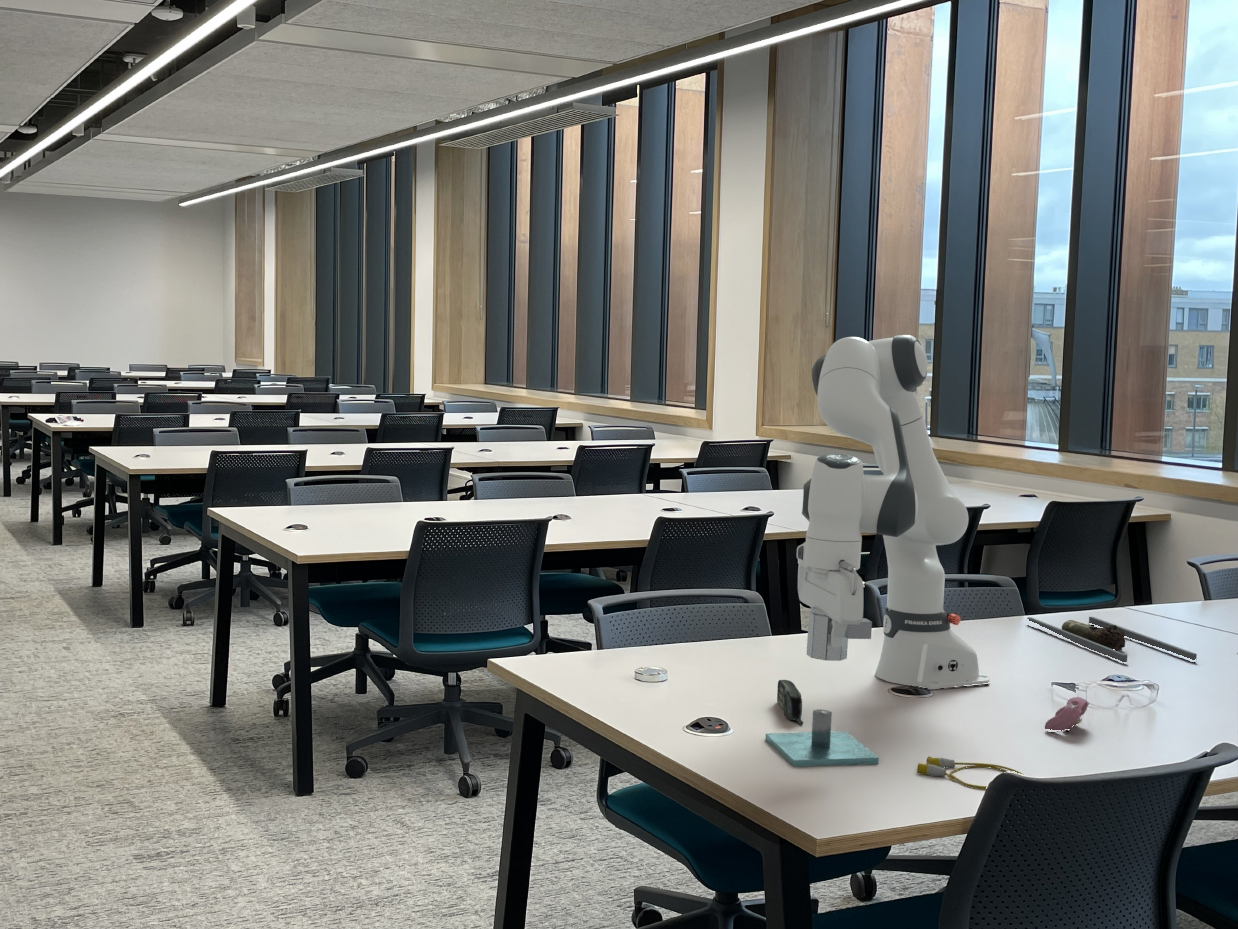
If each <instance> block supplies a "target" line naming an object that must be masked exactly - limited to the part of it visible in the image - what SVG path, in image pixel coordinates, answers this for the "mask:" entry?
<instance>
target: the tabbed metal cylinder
mask: <svg viewBox="0 0 1238 929" xmlns="http://www.w3.org/2000/svg"><path fill="white" fill-rule="evenodd" d="M807 626H808V627H807V642H806V643H807V644H806V656H808V657H810V658H811V659H816V660H820V661H821V660H822V661H826V662H828V661H829V662H830V661H832V662H833V661H834V662H835V661H836V662H840V661H844V660H847V659H848V644H849V640H871V639H872V632H873V631H872V628H873V621H871V620H870V619H868V618H865V617H863V618H862V621H861V623H860V624H858V625H847V629H846V631H845V634H844V636H843V644H842V646H841V647H833V646H831V645H830V644H829V634H831V632H832V628H833V625H832V619H831V618H829V617H828V616H826V615H824V612H822V611H820V610H818V609H817V608H815V607H810V610H809V612H808V624H807Z"/></svg>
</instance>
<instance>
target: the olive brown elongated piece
mask: <svg viewBox="0 0 1238 929" xmlns="http://www.w3.org/2000/svg"><path fill="white" fill-rule="evenodd" d="M1116 625H1117V624H1115V625H1109V626H1107V627H1103V628H1097V627H1094V626H1091V625H1089V624H1087V623H1083V622H1079V621H1076V620H1073V619H1068V620H1067V621H1064V623H1062V625H1061V629H1062V630H1065V631H1067V632H1070V633H1072V634H1075V635H1077V636H1080V637H1083V638H1085V639H1088V640H1090V641H1093V642H1095V643H1098V644H1100V645H1103V646H1105V647H1108V648H1111V649H1115V650H1120V651H1123V648H1125V647H1126V638H1124V636H1125V634H1124V631H1123V630H1122V629H1120V628H1119V627H1117V626H1118V625H1117V626H1116Z"/></svg>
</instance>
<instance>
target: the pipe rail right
mask: <svg viewBox="0 0 1238 929" xmlns="http://www.w3.org/2000/svg"><path fill="white" fill-rule="evenodd" d="M1089 623H1092V624H1095V625H1098V626H1100V627H1107V626H1109V625H1116V626H1117V627H1119V628H1120V629H1122V630H1123V631H1124V634H1125V636H1127V637H1129V638H1132V639H1135V640H1138V641H1141V642H1144V643H1147V644H1150V645H1152V646H1156V647H1159V648H1162V649H1165V650H1167V651H1171V652H1173V653H1176V654H1178V655H1182V656H1184V657H1187V658H1190V659H1192V660H1195V659H1196V660H1197V658H1198V657H1197V655H1198V654H1197V653H1195V652H1192V651H1190V650H1186V649H1183V648H1181V647H1179V646H1175V645H1173V644H1170V643H1167V642H1164V641H1162V640H1160V639H1156V638H1153V637H1151V636H1148V635H1145V634H1142V633H1139V632H1137V631H1133V630H1130V629H1128V628H1125V627H1123V626H1120V625H1117V624H1116V623H1115V624H1114V623H1112V622H1109V621H1106V620H1103V619H1101V618H1097V617H1095V616H1088V624H1089Z"/></svg>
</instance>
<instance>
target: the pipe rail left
mask: <svg viewBox="0 0 1238 929" xmlns="http://www.w3.org/2000/svg"><path fill="white" fill-rule="evenodd" d="M1027 619H1029V621H1032V622H1034V623H1037V624H1039V625H1040V626H1042V627H1045V628H1047V629H1049V630H1051V631H1053V632H1055V633H1057V634H1059V635H1062V636H1063V637H1065V638H1067V639H1070V640H1071V641H1073V642H1075V643H1078V644H1080V645H1082V646H1084V647H1087V648H1089V649H1091V650H1094V651H1097V652H1099V653H1102V654H1104V655H1108V656H1110V657H1112V658H1115V659H1118V660H1120V661H1122V662H1127V663H1128V654H1126V653H1124V652H1121V651H1116V650H1113V649H1111V648H1108V647H1105V646H1103V645H1100V644H1098V643H1095V642H1093V641H1090V640H1088V639H1085V638H1083V637H1080V636H1077V635H1075V634H1072V633H1070V632H1067V631H1065V630H1062V628H1060V627H1058V626H1054V625H1052V624H1049V623H1047V622H1044V621H1042V620H1040V619H1037V618H1034V617H1031V616H1030V617H1029V616H1028V617H1027V618H1026V620H1027Z"/></svg>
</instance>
